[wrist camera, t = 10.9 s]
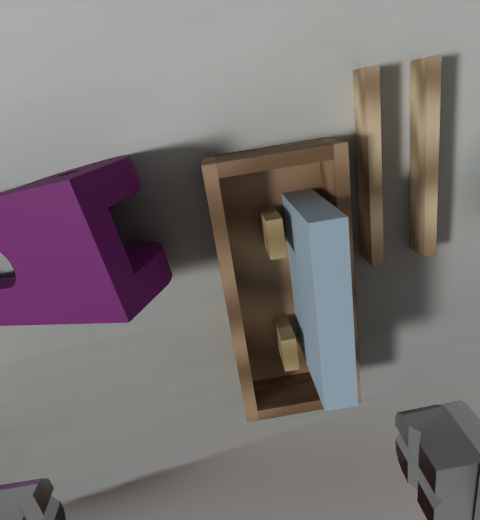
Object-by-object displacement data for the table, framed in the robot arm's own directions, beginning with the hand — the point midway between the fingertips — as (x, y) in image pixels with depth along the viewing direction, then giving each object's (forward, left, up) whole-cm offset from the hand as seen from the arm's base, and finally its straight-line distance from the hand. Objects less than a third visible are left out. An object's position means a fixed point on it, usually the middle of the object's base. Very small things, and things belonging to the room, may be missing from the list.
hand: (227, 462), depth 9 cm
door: (+6, +7, -24) cm, 26 cm away
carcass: (+7, +5, -25) cm, 27 cm away
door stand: (-1, +15, -25) cm, 29 cm away
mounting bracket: (0, -14, -26) cm, 29 cm away
